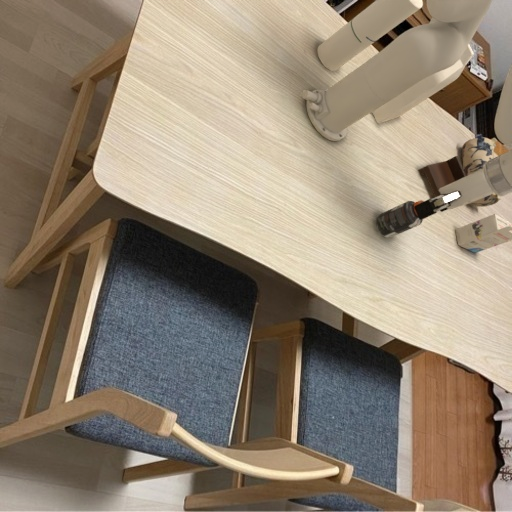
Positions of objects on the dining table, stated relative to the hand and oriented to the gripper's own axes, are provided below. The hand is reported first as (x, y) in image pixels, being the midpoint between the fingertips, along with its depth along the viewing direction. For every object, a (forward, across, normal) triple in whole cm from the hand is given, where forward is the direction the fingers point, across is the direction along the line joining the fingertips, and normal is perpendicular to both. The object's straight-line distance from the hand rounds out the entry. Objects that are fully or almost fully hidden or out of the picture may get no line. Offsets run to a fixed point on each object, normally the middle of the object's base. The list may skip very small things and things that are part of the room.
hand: (428, 209), depth 124 cm
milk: (+12, -21, -32) cm, 40 cm away
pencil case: (+12, -51, -6) cm, 52 cm away
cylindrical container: (+11, -6, -44) cm, 46 cm away
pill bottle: (+12, 0, -1) cm, 12 cm away
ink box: (+12, -34, +11) cm, 38 cm away
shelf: (+12, -32, -6) cm, 34 cm away
